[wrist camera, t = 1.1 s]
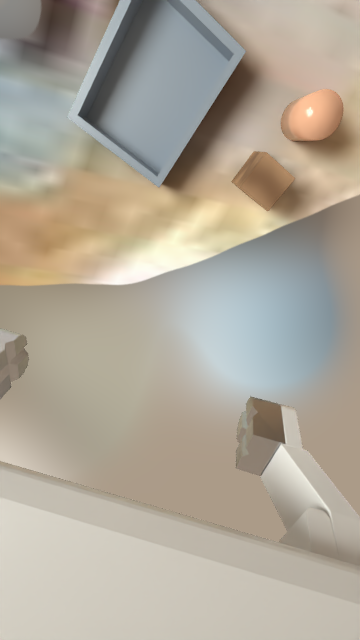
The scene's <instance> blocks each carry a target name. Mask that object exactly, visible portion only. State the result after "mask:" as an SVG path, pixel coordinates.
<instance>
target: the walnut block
mask: <svg viewBox="0 0 360 640" xmlns="http://www.w3.org/2000/svg"><path fill="white" fill-rule="evenodd" d="M294 179H295V178H294V177H293V176H292V175H291V174H290V173H289V172H288V171H287V170H285V169H284V168H283V167H282V166H281V165H280V164H279V163H278V162H277V161H276V160H274V159H273V158H272V157H271V156H270V155H269V154H268V153H267V152H256V151H254V152H253V153H252V155H251V156H250V157H249V159H248V160H247V161H246V163H245V164H244V165H243V167H242V168H241V169H240V171H239V172H238V174H237V175H236V176H235V178H234V179H233V180H232V183H234V184H235V185H236V186H237V187H238V188H240V189H241V190H242V191H243V192H244V193H246V194H247V195H248V196H249V197H250V198H252V199H253V200H254V201H255V202H256V203H258V204H259V205H260V206H262V207H263V208H264V209H265V210H267V211H269V210H270V208H271V207H272V206H273V205H274V204H275V202H276V201H277V200H278V199H279V198H280V196H281V195H282V194H283V193H284V191H285V190H286V189H287V188H288V187H289V185H290V184H291V183H292V182H293V181H294Z"/></svg>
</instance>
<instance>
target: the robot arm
mask: <svg viewBox="0 0 360 640" xmlns="http://www.w3.org/2000/svg"><path fill="white" fill-rule="evenodd" d="M26 345H27V340H26V337H25V336H24V335H21V334H18V333H15V332H12V331H8V330H5V329H2V328H0V399H1V398H2V397H3V396H4V395H5V394H6V392H7V391H8V390H9V389H10V388H11V382H12V381H14V380H17V379H19V378H20V377H21V376H22V375H23V373H24V372H25V369H26V368H27V366H28V360H29V357H28V353H27V352H26V350H25V349H24V347H25V346H26ZM237 440H238V442H239V446H238V448H237V450H236V468H237V469H240V470H243V471H246V472H249V473H252V474H256V475H259V476H261V477H260V478H261V480H262V482H263V484H264V485H265V488H266V489H267V491H268V493H269V495H270V498H271V500H272V502H273V504H274V505H275V508H276V510H277V512H278V513H279V516H280V518H281V520H282V522H283V524H284V526H285V528H286V530H287V533H286V534H285V535H284V536H283V537H282V538H281V540H280V541H279V542H275V541H272V540H269V539H265V538H262V537H258V536H255V535H252V534H248V533H245V532H241V531H238V530H234V529H231V528H227V527H224V526H221V525H217V524H214V523H210V522H207V521H204V520H200V519H197V518H193V517H190V516H187V515H183V514H180V513H176V512H173V511H169V510H166V509H163V508H159V507H156V506H152V505H149V504H145V503H142V502H138V501H135V500H132V499H128V498H125V497H121V496H118V495H115V494H111V493H108V492H104V491H101V490H98V489H94V488H90V487H87V486H84V485H80V484H77V483H73V482H70V481H66V480H63V479H60V478H56V477H53V476H50V475H46V474H43V473H39V472H36V471H32V470H29V469H26V468H22V467H19V466H15V465H12V464H8V463H5V462H1V461H0V640H360V517H359V516H358V515H357V513H356V512H355V511H354V509H353V508H352V507H351V506H350V504H349V503H348V502H347V500H346V499H345V498H344V497H343V495H342V494H341V493H340V492H339V490H338V489H337V488H336V486H335V485H334V484H333V483H332V481H331V480H330V479H329V477H328V476H327V475H326V474H325V472H324V471H323V470H322V469H321V468H320V466H319V465H318V463H317V462H316V461H315V460H314V458H313V457H312V456H311V454H310V453H309V452H308V451H307V450H304V449H303V447H302V441H301V436H300V430H299V424H298V419H297V413H296V410H295V409H294V408H293V407H289V406H285V405H281V404H277V403H273V402H270V401H266V400H262V399H258V398H254V397H250V398H249V399H248V401H247V403H246V411H244V412H242V415H241V417H240V419H239V423H238V428H237Z"/></svg>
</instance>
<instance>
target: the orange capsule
mask: <svg viewBox="0 0 360 640" xmlns="http://www.w3.org/2000/svg"><path fill="white" fill-rule="evenodd" d="M342 116H343V103H342V100H341V98H340V96H339V95H338V94H337V93H336V92H334V91H332V90H329V89H323V90H319V91H317V92H314V93H312V94H309V95H307V96H304V97H302V98H299V99H297V100H294V101H293V102H291V103H290V104H289V105H288V106H287V107H286V109H285V110H284V112H283V115H282V118H281V129H282V132H283V134H284V135H285V137H286V138H288V139H289V140H292V141H310V140H322V139H325V138H327V137H328V136H330V135H331V134H332V133H333V132H334V131H335V130H336V129H337V128H338V126H339V124H340V122H341V119H342Z"/></svg>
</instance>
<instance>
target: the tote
mask: <svg viewBox="0 0 360 640" xmlns="http://www.w3.org/2000/svg"><path fill="white" fill-rule="evenodd" d="M245 52H246V51H245V50H244V49H243V48H242V47H241V46H240V45H239V44H238V43H237V42H236V41H235V39H234V38H233V37H232V36H231V35H230V34H229V33H228V32H227V31H226V30H225V29H224V28H223V27H222V26H221V25H220V24H219V23H218V22H217V21H216V20H215V19H214V18H213V17H212V16H211V15H210V14H209V13H208V12H207V11H206V10H205V9H204V8H203V7H202V6H201V5H200V4H199V3H198V2H197V1H196V0H120V2H119V4H118V6H117V8H116V10H115V13H114V15H113V17H112V19H111V21H110V24H109V26H108V28H107V30H106V32H105V35H104V37H103V39H102V41H101V43H100V46H99V48H98V50H97V52H96V54H95V57H94V59H93V61H92V63H91V65H90V68H89V70H88V72H87V74H86V76H85V79H84V81H83V83H82V85H81V87H80V90H79V92H78V94H77V96H76V98H75V101H74V103H73V105H72V107H71V109H70V112H69V114H68V116H67V118H68V119H70V120H71V121H72V122H74V123H75V124H76V125H78V126H79V127H80V128H82V129H83V130H84V131H85V132H87V133H88V134H89V135H91V136H92V137H93V138H95V139H96V140H97V141H99V142H100V143H101V144H102V145H104V146H105V147H106V148H108V149H109V150H110V151H112V152H113V153H114V154H116V155H117V156H118V157H120V158H121V159H122V160H123V161H125V162H126V163H127V164H129V165H130V166H131V167H133V168H134V169H135V170H137V171H138V172H139V173H140V174H142V175H143V176H144V177H146V178H147V179H148V180H150V181H151V182H152V183H154V184H155V185H156V186H158V187H160V185H161V184H162V182H163V181H164V179H165V178H166V176H167V174H168V173H169V171H170V170H171V168H172V167H173V165H174V163H175V162H176V160H177V159H178V157H179V156H180V154H181V152H182V151H183V149H184V148H185V146H186V145H187V143H188V141H189V140H190V138H191V137H192V135H193V134H194V132H195V130H196V129H197V127H198V126H199V124H200V123H201V121H202V119H203V118H204V116H205V115H206V113H207V112H208V110H209V109H210V107H211V105H212V104H213V102H214V101H215V99H216V98H217V96H218V94H219V93H220V91H221V90H222V88H223V87H224V85H225V83H226V82H227V80H228V79H229V77H230V76H231V74H232V72H233V71H234V69H235V68H236V66H237V65H238V63H239V61H240V60H241V58H242V57H243V55H244V54H245Z"/></svg>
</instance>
